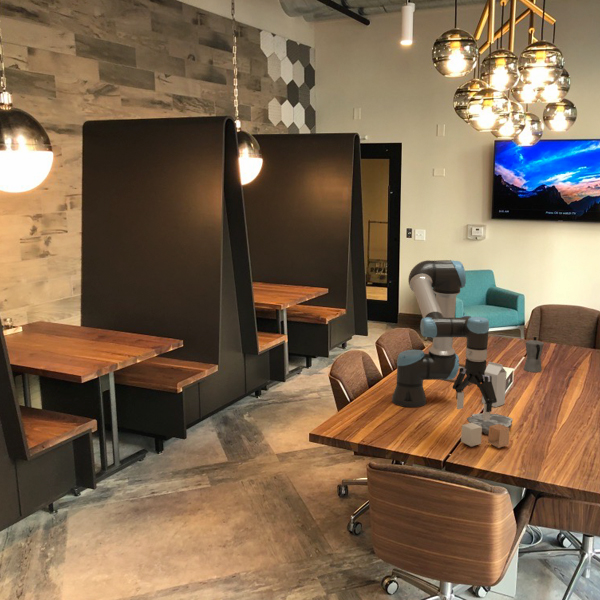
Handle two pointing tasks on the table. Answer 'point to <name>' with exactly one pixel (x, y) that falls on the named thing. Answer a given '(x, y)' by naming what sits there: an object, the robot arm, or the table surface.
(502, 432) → the tan brown block
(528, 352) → the coffeepot
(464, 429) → the cream sugar cube
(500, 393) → the milk carton
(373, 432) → the table surface
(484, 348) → the robot arm
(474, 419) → the brain slice
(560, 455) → the table surface
